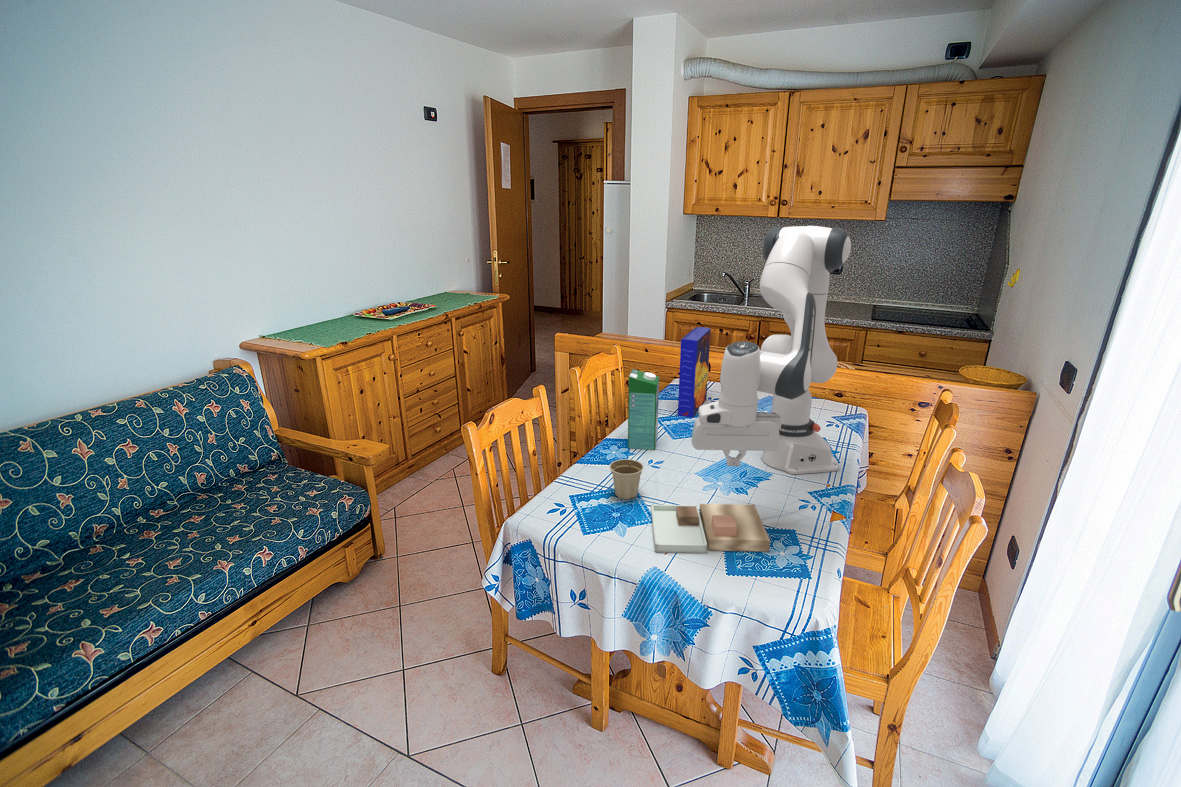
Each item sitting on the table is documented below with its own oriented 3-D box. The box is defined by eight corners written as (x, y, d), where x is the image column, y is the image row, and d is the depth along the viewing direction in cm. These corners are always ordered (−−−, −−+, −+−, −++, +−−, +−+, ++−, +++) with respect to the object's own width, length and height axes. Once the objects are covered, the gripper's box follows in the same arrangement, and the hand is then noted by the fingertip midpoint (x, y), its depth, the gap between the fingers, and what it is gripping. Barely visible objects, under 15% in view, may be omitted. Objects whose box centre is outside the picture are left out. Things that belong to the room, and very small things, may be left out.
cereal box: (693, 417, 209) (697, 340, 199) (677, 415, 212) (681, 338, 202) (706, 399, 228) (710, 327, 218) (692, 397, 230) (695, 326, 220)
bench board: (753, 514, 145) (754, 504, 144) (768, 551, 130) (770, 540, 129) (699, 513, 146) (699, 503, 145) (708, 550, 131) (709, 539, 130)
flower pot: (607, 486, 160) (607, 459, 157) (640, 484, 161) (640, 457, 158) (611, 503, 151) (611, 475, 148) (645, 501, 152) (646, 473, 149)
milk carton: (655, 450, 183) (657, 377, 174) (627, 448, 185) (628, 376, 176) (657, 439, 191) (659, 369, 183) (631, 437, 193) (632, 368, 185)
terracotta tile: (732, 524, 135) (732, 515, 135) (736, 536, 131) (736, 527, 130) (711, 524, 136) (712, 515, 135) (714, 535, 131) (715, 526, 130)
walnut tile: (695, 514, 144) (695, 506, 143) (698, 525, 140) (698, 516, 139) (676, 514, 144) (676, 506, 144) (678, 525, 140) (678, 516, 139)
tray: (696, 511, 147) (697, 505, 146) (707, 552, 130) (707, 545, 129) (651, 511, 147) (651, 504, 147) (655, 551, 130) (655, 544, 130)
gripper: (779, 407, 132) (773, 460, 137) (692, 406, 133) (689, 458, 138) (786, 417, 126) (780, 472, 131) (695, 416, 127) (692, 470, 132)
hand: (733, 465), depth 134 cm, fingers closed
